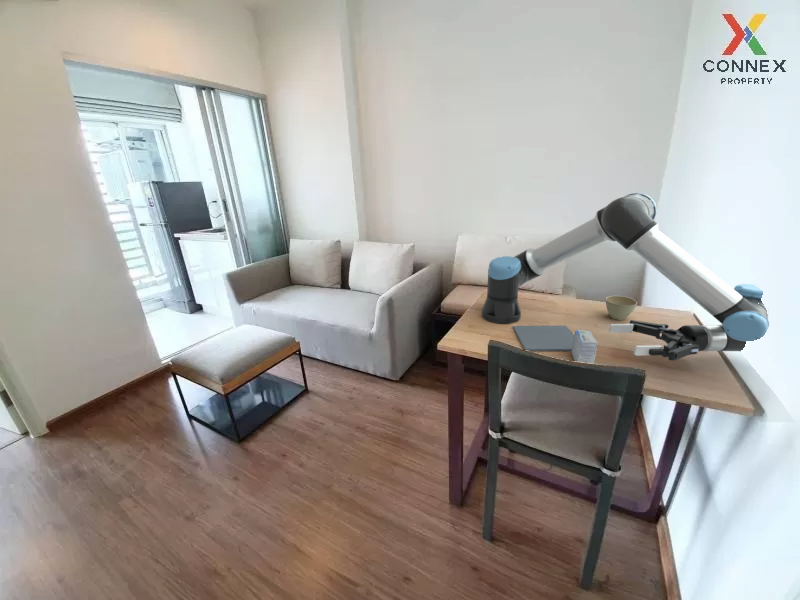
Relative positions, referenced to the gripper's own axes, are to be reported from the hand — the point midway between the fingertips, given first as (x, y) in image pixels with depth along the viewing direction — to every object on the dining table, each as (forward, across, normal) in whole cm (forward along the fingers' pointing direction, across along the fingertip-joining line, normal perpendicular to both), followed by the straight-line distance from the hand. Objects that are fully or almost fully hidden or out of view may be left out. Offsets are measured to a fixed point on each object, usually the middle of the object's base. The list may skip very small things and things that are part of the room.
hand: (621, 338), depth 97 cm
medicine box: (+10, 0, -8) cm, 13 cm away
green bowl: (-16, +31, -8) cm, 36 cm away
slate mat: (+16, +14, -8) cm, 23 cm away
